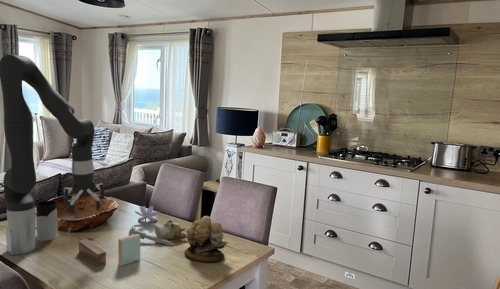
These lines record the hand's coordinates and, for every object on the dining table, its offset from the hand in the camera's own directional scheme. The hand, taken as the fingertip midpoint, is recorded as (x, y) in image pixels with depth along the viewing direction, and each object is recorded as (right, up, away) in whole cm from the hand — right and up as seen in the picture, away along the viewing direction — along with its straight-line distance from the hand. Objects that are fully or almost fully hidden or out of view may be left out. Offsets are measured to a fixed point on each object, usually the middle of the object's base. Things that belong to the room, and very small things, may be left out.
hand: (85, 211), depth 144 cm
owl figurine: (+46, -19, +5) cm, 50 cm away
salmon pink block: (+18, -19, -3) cm, 26 cm away
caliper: (+22, -17, +16) cm, 31 cm away
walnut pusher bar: (+3, -18, -1) cm, 18 cm away
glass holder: (-26, -14, +16) cm, 34 cm away
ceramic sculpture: (+29, -16, +21) cm, 39 cm away
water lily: (+14, -13, +39) cm, 43 cm away
